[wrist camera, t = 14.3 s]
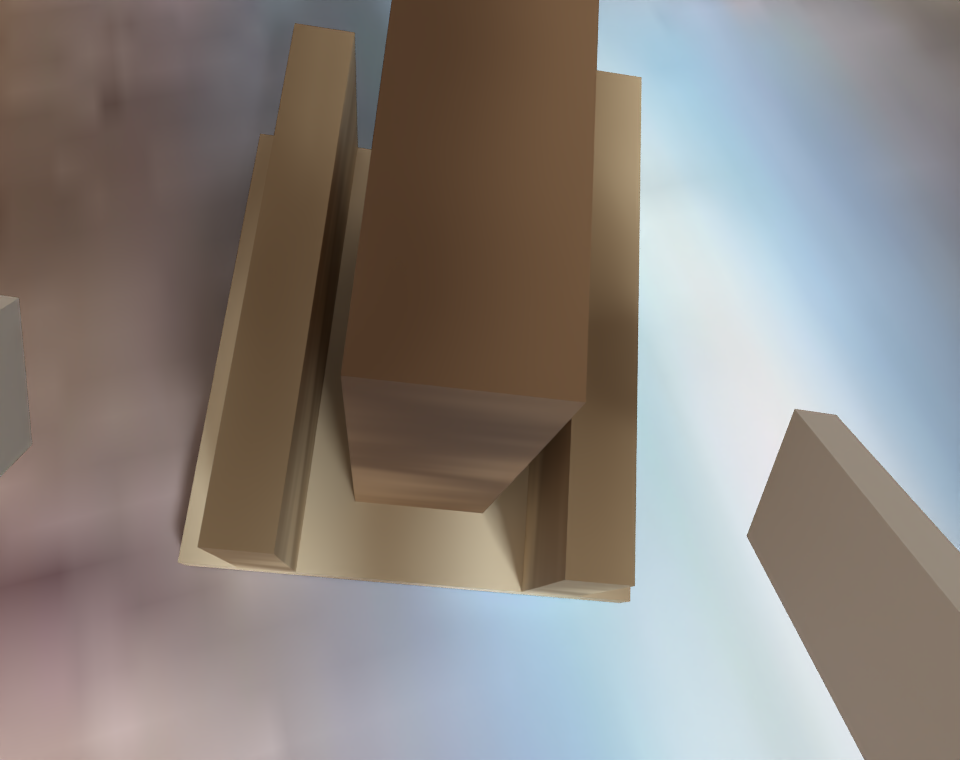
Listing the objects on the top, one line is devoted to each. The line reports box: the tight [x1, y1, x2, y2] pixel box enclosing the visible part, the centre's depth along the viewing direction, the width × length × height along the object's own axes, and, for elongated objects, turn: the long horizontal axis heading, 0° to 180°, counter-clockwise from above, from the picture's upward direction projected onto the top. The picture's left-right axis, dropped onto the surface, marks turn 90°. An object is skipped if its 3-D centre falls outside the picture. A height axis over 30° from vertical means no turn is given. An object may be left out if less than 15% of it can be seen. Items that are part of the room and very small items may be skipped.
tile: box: [341, 0, 599, 513], centre depth 18 cm, size 4×9×11 cm, turn 176°
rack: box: [178, 23, 641, 603], centre depth 21 cm, size 12×13×6 cm
